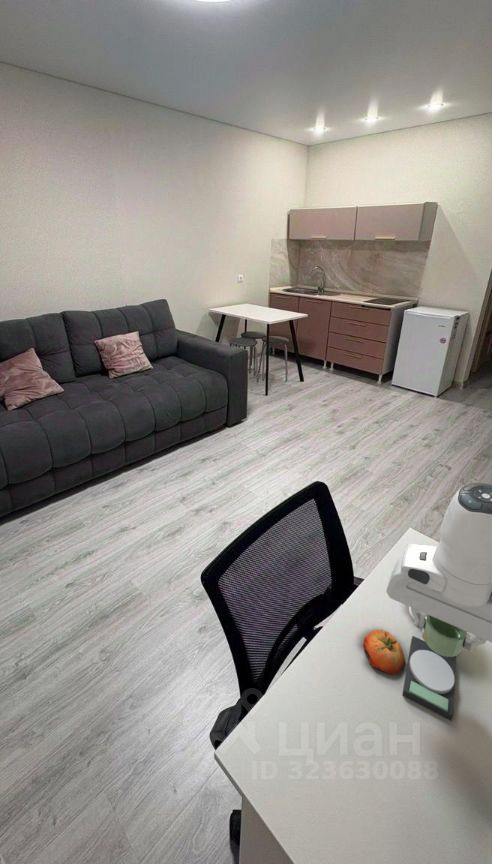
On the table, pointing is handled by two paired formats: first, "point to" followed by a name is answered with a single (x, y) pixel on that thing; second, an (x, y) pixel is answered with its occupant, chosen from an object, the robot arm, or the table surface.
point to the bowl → (443, 636)
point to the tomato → (384, 651)
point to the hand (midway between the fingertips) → (442, 635)
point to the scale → (430, 679)
